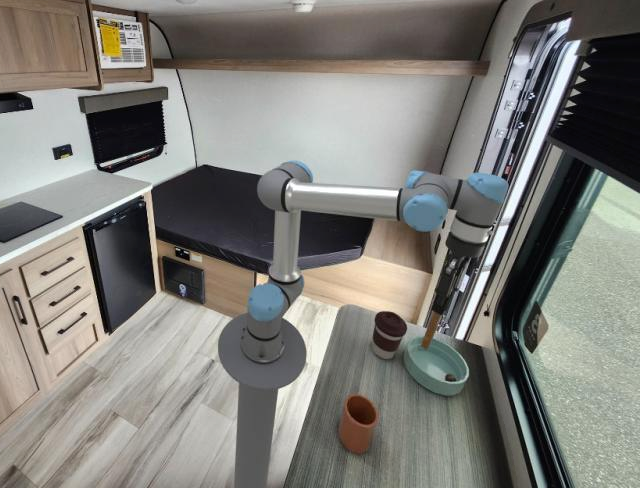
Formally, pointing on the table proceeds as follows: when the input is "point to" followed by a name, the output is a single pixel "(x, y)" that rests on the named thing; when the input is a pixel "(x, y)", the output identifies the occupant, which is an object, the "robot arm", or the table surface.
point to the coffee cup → (387, 333)
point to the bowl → (436, 366)
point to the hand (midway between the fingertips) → (438, 309)
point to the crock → (357, 423)
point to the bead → (450, 378)
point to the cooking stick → (431, 329)
